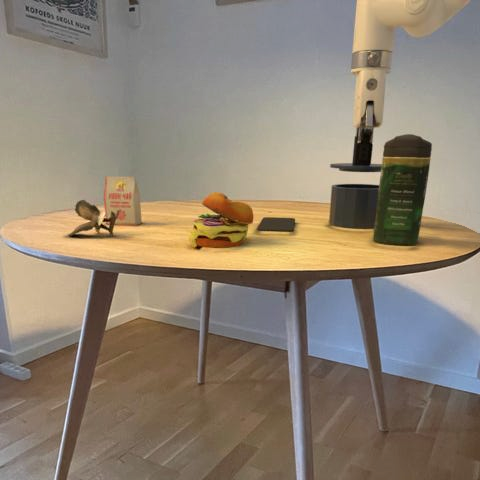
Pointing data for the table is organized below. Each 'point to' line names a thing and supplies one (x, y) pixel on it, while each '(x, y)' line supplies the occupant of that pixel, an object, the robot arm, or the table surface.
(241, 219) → the cheeseburger
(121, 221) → the paper takeout bag
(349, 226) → the pot
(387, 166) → the coffee jar
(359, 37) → the robot arm
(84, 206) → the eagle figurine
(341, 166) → the lid
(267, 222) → the phone
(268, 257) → the table surface
